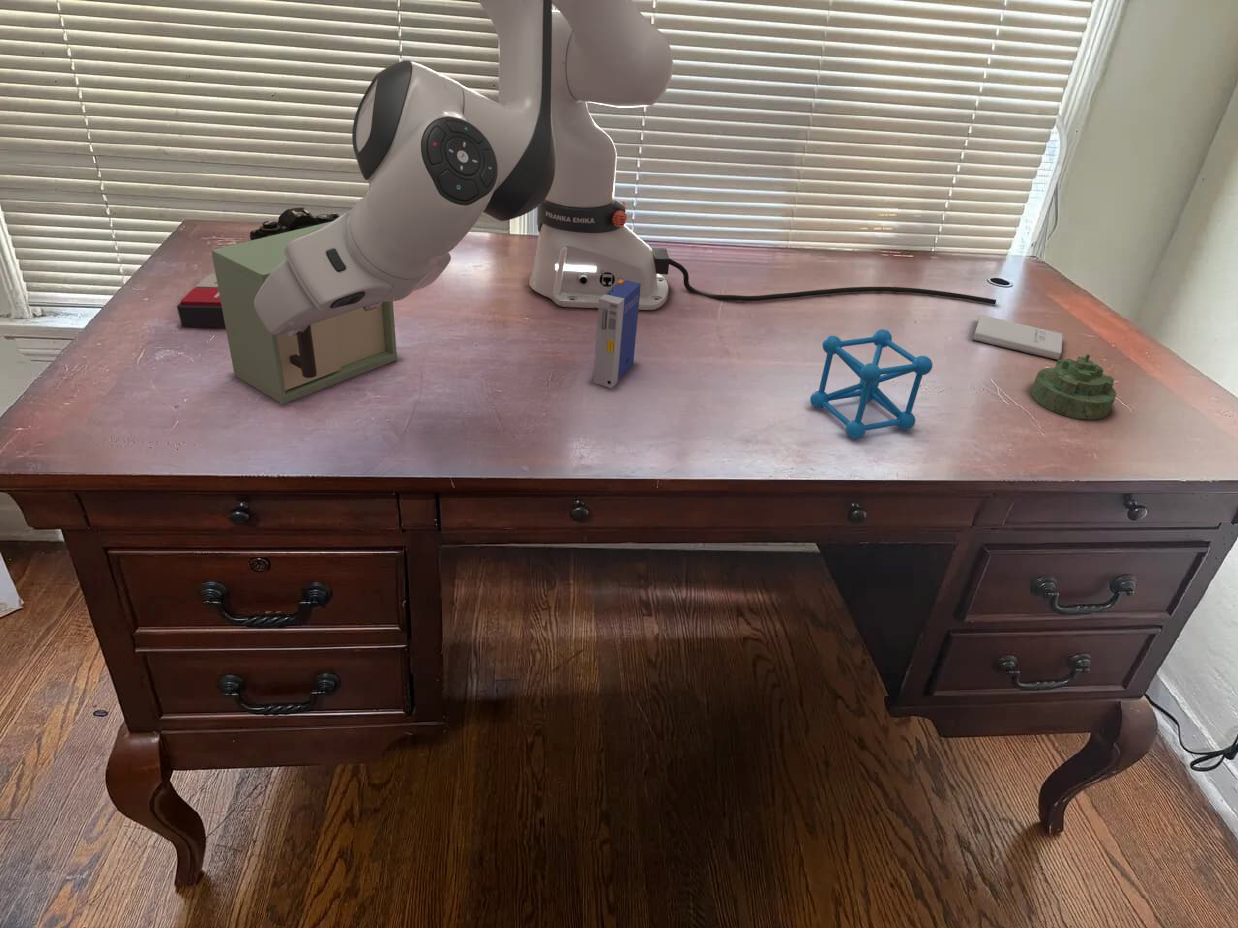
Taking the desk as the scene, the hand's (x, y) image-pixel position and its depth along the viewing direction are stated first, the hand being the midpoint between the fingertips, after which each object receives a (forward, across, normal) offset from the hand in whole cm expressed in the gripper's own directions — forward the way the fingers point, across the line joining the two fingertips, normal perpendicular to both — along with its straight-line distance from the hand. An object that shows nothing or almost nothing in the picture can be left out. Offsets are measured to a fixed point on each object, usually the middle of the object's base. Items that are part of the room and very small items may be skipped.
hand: (330, 315), depth 92 cm
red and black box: (+33, -9, -14) cm, 37 cm away
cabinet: (+19, -6, 0) cm, 20 cm away
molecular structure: (-21, -46, +40) cm, 65 cm away
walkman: (0, -33, +19) cm, 38 cm away
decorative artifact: (-34, -72, +53) cm, 96 cm away
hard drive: (-26, -87, +45) cm, 102 cm away
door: (+14, -3, +3) cm, 14 cm away
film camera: (+40, -24, -20) cm, 51 cm away
